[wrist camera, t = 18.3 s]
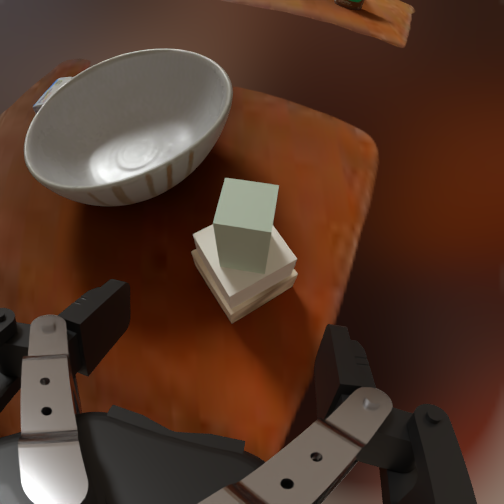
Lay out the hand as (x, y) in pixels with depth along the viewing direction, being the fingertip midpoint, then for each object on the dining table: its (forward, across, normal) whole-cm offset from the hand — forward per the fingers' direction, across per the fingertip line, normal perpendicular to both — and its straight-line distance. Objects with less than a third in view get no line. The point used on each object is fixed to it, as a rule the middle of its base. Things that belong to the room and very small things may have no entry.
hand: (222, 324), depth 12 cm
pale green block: (+17, -1, -3) cm, 17 cm away
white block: (+20, -1, -5) cm, 21 cm away
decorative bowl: (+32, -19, +2) cm, 38 cm away
